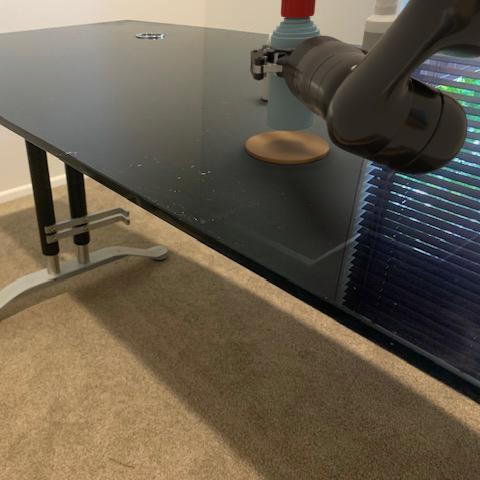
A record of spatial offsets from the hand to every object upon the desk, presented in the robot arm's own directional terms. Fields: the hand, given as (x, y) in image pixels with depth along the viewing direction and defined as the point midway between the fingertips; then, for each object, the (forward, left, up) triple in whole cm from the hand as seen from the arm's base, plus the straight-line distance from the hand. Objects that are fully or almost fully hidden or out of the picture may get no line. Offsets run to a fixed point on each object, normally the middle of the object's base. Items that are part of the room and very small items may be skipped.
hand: (289, 51), depth 69 cm
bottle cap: (+1, +2, +5) cm, 5 cm away
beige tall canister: (-44, -12, -13) cm, 47 cm away
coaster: (+1, +2, -13) cm, 13 cm away
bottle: (+1, +2, -9) cm, 10 cm away
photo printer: (-19, -14, -13) cm, 27 cm away
